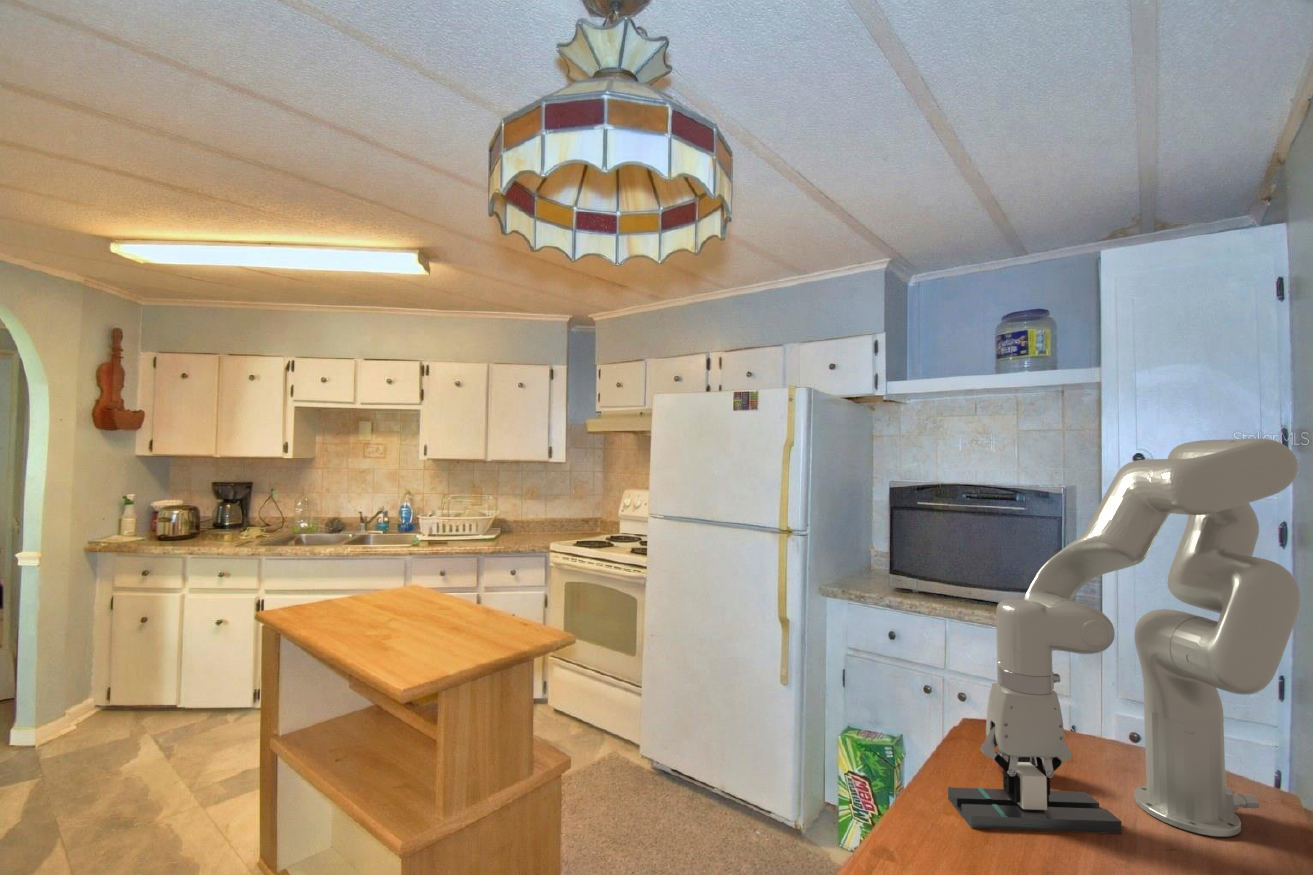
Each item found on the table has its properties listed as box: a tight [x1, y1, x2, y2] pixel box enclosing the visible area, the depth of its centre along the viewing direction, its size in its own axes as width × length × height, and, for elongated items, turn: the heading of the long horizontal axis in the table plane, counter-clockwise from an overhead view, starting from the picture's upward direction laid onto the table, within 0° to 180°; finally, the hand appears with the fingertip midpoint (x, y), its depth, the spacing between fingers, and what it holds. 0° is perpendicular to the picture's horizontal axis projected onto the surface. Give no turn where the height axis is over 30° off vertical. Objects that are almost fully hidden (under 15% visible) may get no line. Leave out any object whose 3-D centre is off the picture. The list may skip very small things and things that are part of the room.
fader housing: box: [947, 787, 1123, 834], centre depth 94 cm, size 22×8×2 cm, turn 87°
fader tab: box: [1016, 762, 1047, 810], centre depth 94 cm, size 4×4×6 cm
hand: (1026, 797), depth 94 cm, fingers closed on fader tab, 3 cm apart
